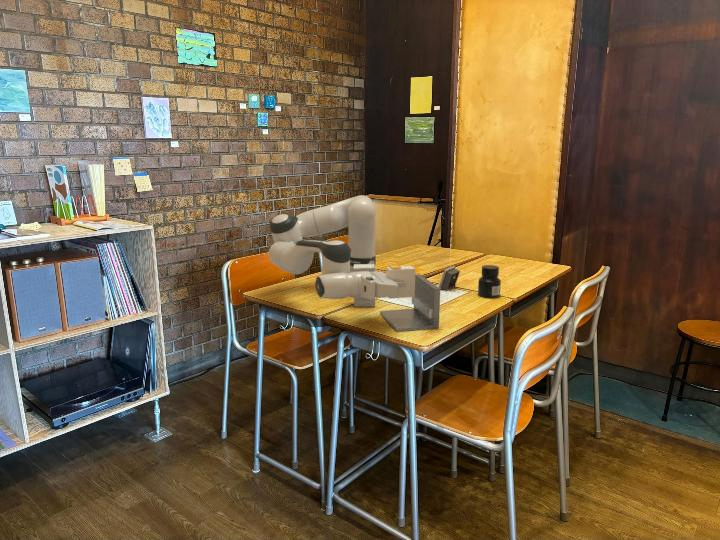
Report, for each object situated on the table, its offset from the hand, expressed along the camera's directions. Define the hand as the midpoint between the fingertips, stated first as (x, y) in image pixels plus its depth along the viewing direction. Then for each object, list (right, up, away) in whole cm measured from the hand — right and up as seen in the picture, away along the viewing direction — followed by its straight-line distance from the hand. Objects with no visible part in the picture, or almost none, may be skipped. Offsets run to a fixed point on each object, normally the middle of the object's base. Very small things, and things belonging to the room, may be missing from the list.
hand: (403, 281), depth 190 cm
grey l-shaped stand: (+2, -14, +4) cm, 15 cm away
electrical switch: (+23, -4, +46) cm, 52 cm away
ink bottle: (+38, -7, +35) cm, 52 cm away
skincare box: (-13, -10, +23) cm, 28 cm away
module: (-1, -5, +1) cm, 5 cm away
